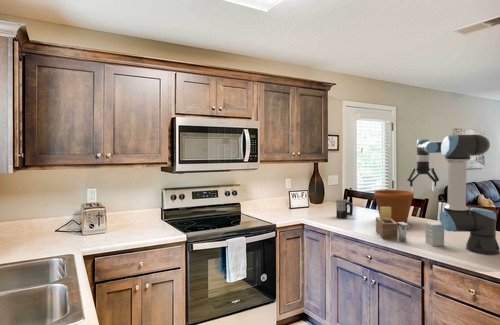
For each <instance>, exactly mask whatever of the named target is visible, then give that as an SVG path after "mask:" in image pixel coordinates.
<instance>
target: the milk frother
mask: <svg viewBox="0 0 500 325" xmlns="http://www.w3.org/2000/svg"><path fill="white" fill-rule="evenodd" d="M335 202H336V204H335V206H336V213H335V214H336V216H335V217H336V218H337V219H347V218H348V216H352V215H353V210H354V207H353V206H354V205H353V203H352V202H349V201H348V200H347V199H336V200H335ZM348 206H349V211H348Z"/></svg>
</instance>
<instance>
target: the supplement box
mask: <svg viewBox="0 0 500 325" xmlns="http://www.w3.org/2000/svg"><path fill="white" fill-rule="evenodd" d="M424 225H425V226H424V227H425V229H424V230H425V236H424V237H425V244H427V245H430V246H432V247H437V246H441V245H442V246H445V229H444V228H443V226H442V224H441V222H439V221H430V222H429V221H427V222H426V221H425V224H424Z"/></svg>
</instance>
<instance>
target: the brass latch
mask: <svg viewBox="0 0 500 325" xmlns="http://www.w3.org/2000/svg"><path fill="white" fill-rule="evenodd" d="M379 217H380V219H388V220H391V207H380V216H379Z"/></svg>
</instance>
